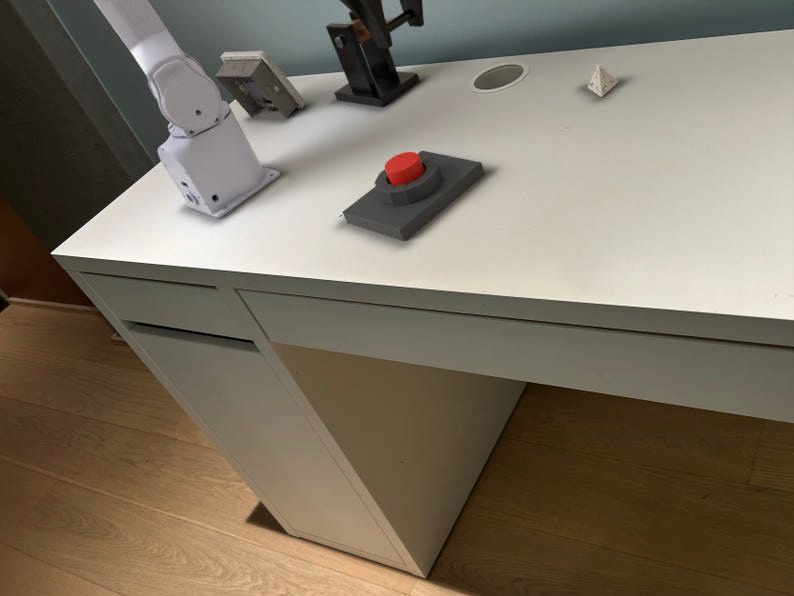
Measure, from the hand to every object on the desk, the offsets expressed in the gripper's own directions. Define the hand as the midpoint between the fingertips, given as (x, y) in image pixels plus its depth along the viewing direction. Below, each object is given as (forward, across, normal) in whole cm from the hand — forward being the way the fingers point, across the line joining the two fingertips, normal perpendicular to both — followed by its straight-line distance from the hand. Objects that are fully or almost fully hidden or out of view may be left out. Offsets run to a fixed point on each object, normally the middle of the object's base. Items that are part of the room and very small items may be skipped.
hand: (401, 36), depth 87 cm
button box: (+8, -18, -17) cm, 26 cm away
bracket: (+8, 0, +9) cm, 12 cm away
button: (+5, -18, -17) cm, 25 cm away
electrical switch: (+8, -9, +22) cm, 25 cm away
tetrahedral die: (+8, +6, -23) cm, 25 cm away
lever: (0, 0, +5) cm, 5 cm away
